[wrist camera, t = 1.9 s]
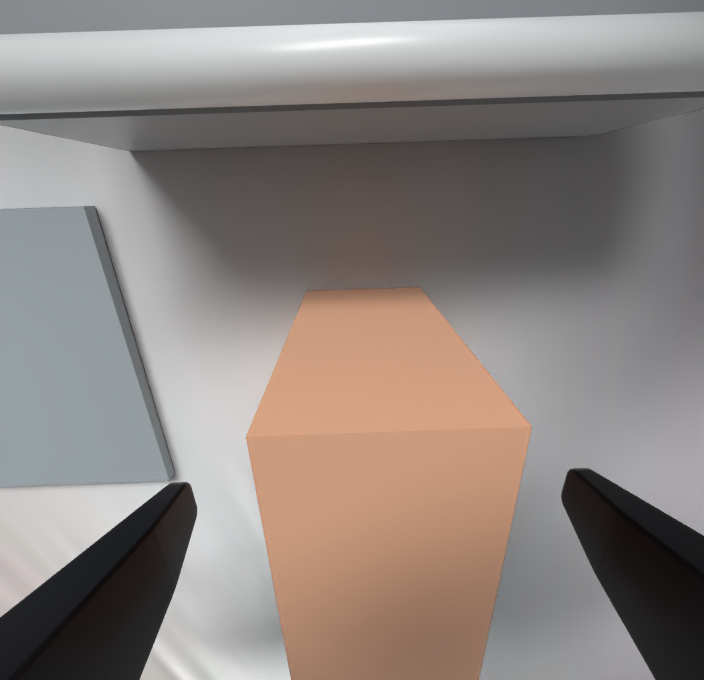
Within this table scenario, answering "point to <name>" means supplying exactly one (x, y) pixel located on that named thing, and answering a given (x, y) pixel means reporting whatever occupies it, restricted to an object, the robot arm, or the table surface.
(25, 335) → the mat
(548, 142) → the table surface
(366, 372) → the peach rectangular block
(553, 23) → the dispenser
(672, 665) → the robot arm
